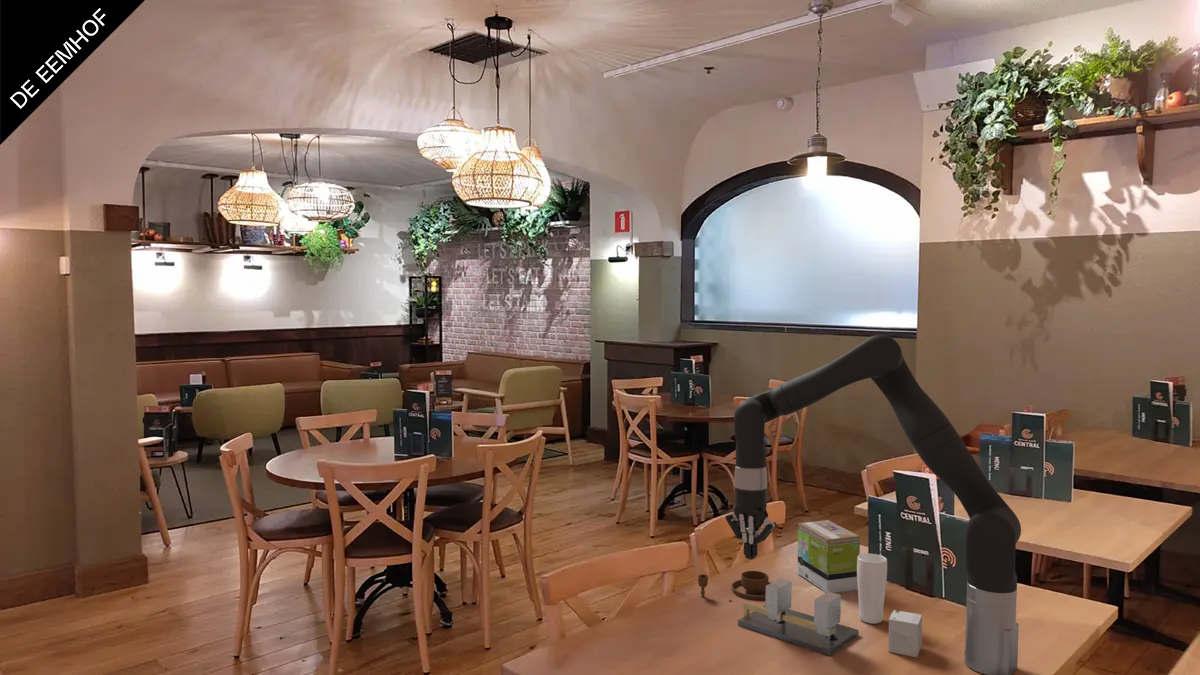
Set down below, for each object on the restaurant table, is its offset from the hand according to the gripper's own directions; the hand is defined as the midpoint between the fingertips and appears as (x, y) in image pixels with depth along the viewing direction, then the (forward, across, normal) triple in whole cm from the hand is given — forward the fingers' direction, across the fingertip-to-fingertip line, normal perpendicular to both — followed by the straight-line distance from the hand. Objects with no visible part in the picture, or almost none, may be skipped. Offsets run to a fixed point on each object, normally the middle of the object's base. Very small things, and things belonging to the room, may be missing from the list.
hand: (750, 558), depth 185 cm
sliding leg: (+14, -7, 0) cm, 16 cm away
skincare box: (+16, -32, -11) cm, 37 cm away
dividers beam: (+14, -10, 0) cm, 17 cm away
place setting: (+16, +13, -16) cm, 26 cm away
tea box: (+16, -1, -37) cm, 40 cm away
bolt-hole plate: (+16, -10, -4) cm, 19 cm away
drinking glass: (+16, -20, -21) cm, 33 cm away
